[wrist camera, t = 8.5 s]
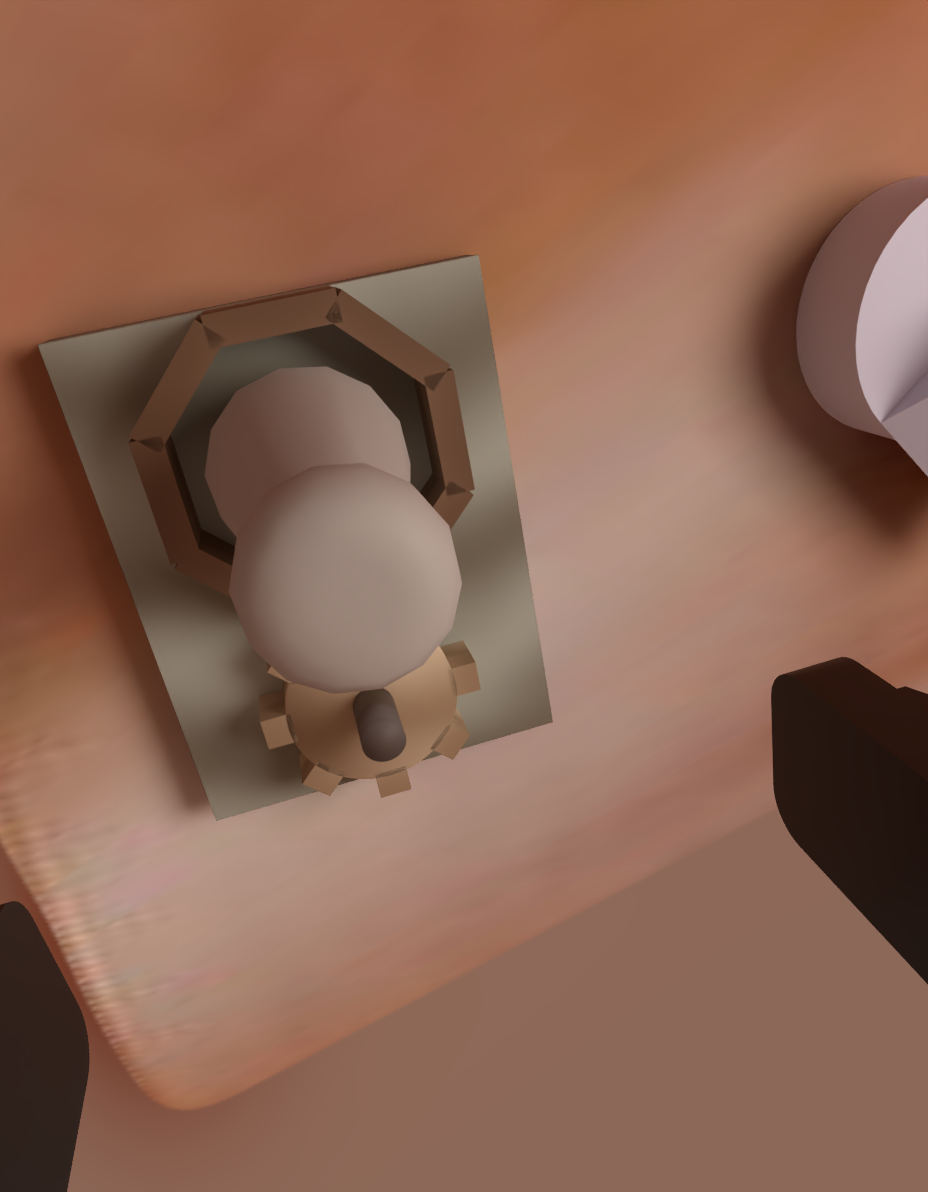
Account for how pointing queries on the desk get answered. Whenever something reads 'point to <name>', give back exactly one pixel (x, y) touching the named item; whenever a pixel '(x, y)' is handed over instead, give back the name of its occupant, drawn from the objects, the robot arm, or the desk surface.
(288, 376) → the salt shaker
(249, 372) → the peg board
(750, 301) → the desk surface
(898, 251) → the wedge on round base
